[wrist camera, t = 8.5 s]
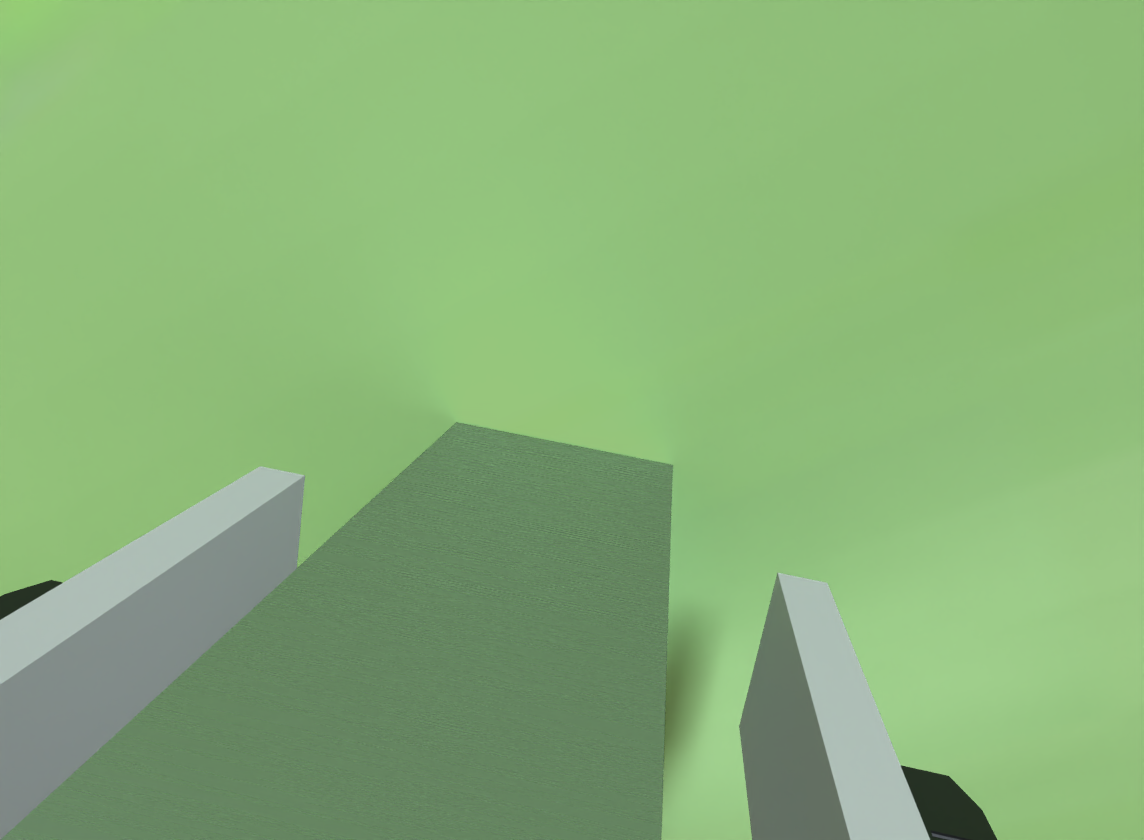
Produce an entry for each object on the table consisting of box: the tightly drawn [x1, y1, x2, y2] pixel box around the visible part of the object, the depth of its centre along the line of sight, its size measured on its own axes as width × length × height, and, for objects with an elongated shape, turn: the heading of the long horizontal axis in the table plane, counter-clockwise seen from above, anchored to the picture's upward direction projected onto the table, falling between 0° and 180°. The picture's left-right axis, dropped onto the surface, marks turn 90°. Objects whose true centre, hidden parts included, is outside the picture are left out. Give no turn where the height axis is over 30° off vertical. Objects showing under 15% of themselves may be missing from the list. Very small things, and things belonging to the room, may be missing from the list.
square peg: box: [1, 423, 673, 840], centre depth 10 cm, size 4×4×12 cm
